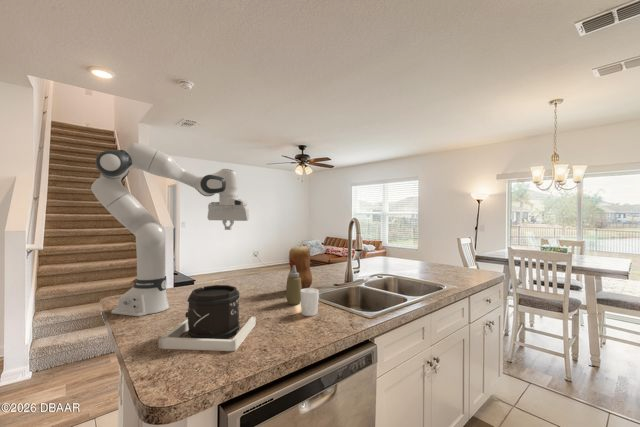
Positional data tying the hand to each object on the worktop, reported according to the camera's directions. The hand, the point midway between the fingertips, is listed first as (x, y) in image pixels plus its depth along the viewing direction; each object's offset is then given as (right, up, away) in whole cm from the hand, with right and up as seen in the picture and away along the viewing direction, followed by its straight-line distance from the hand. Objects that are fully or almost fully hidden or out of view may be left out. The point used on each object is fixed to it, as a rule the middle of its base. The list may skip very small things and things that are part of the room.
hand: (228, 229), depth 150 cm
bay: (+8, -35, -43) cm, 56 cm away
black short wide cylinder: (+8, -35, -42) cm, 56 cm away
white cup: (+41, -35, -21) cm, 58 cm away
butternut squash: (+35, -35, +15) cm, 52 cm away
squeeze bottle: (+33, -35, -6) cm, 49 cm away
